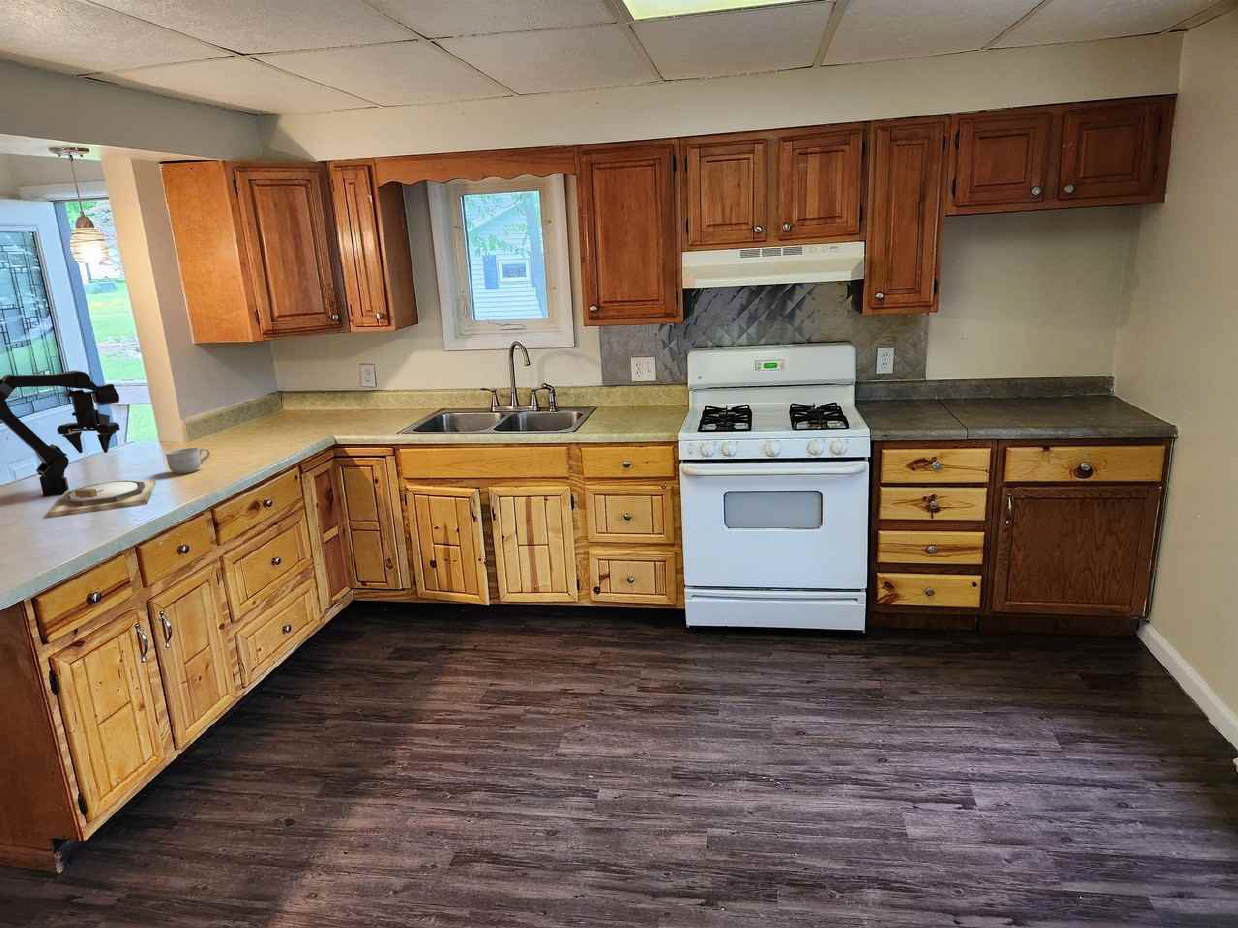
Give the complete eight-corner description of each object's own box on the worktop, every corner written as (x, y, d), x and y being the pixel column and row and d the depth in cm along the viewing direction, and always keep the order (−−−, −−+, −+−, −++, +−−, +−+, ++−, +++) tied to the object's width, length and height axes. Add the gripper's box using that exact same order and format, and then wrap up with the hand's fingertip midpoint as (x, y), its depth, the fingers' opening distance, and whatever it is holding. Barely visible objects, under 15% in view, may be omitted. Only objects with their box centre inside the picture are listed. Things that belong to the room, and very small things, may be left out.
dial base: (49, 517, 241) (46, 507, 240) (66, 495, 264) (64, 486, 263) (147, 503, 251) (145, 494, 250) (156, 483, 274) (154, 475, 273)
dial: (105, 485, 268) (103, 475, 267) (151, 487, 264) (149, 476, 263) (55, 502, 251) (53, 491, 250) (104, 504, 246) (101, 493, 245)
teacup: (167, 477, 282) (163, 455, 280) (170, 470, 292) (166, 449, 290) (211, 471, 287) (207, 450, 285) (213, 465, 297) (209, 444, 295)
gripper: (126, 403, 277) (135, 446, 281) (76, 404, 279) (86, 447, 283) (103, 409, 266) (112, 454, 270) (51, 410, 268) (61, 455, 272)
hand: (93, 452), depth 274 cm, fingers open, 9 cm apart
